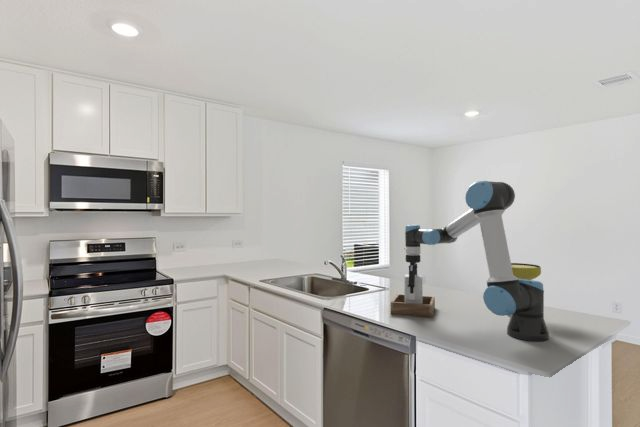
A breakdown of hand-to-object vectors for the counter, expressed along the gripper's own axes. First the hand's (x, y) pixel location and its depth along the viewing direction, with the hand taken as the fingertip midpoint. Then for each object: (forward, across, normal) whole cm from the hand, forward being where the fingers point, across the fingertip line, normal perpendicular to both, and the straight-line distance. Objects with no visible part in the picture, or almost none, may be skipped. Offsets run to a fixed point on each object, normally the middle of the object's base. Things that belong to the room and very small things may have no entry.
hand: (413, 297), depth 193 cm
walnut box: (+7, 0, 0) cm, 7 cm away
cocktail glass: (+7, -6, +50) cm, 51 cm away
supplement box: (+4, 0, 0) cm, 4 cm away
